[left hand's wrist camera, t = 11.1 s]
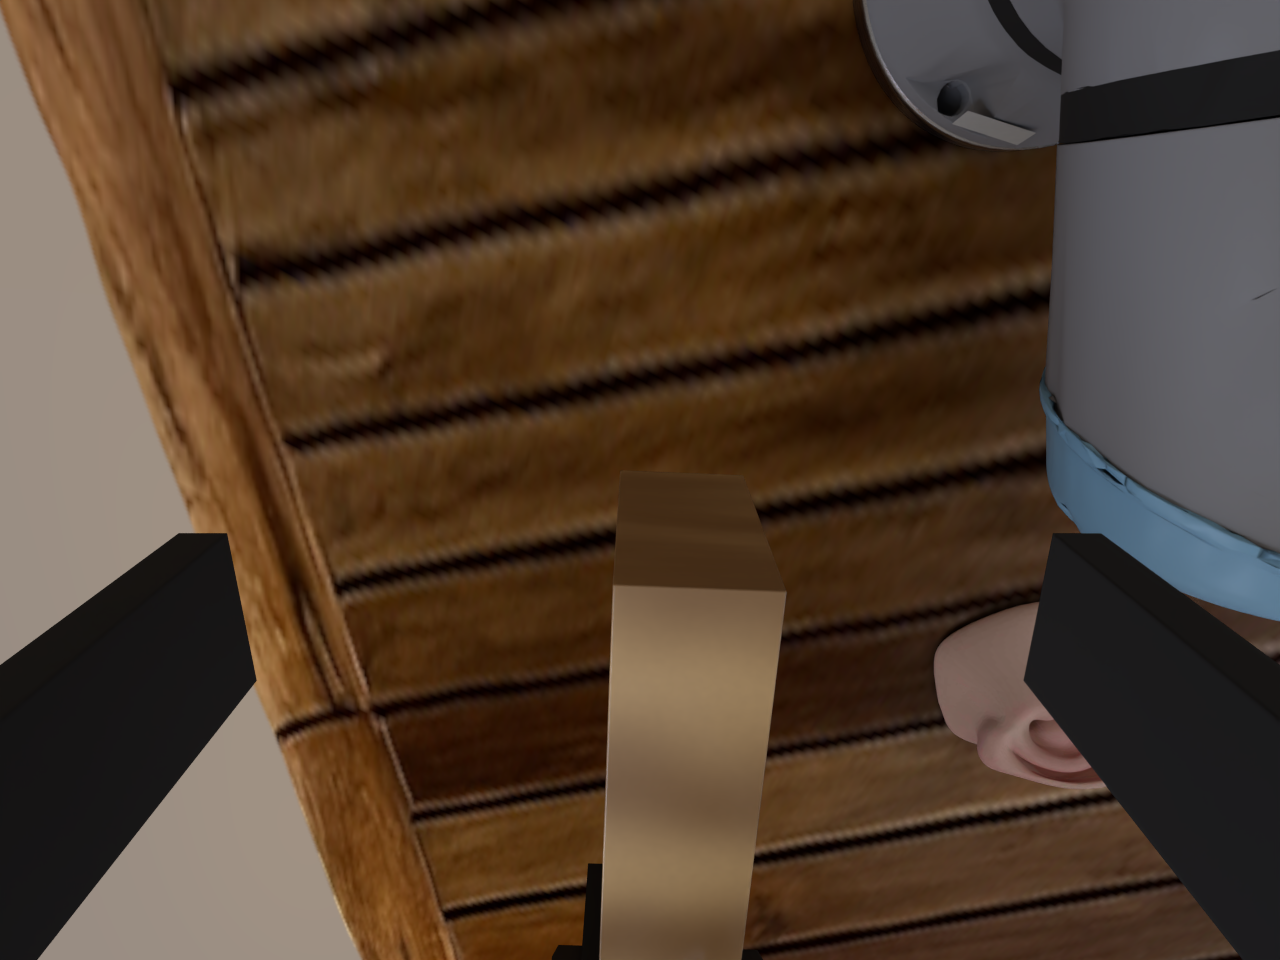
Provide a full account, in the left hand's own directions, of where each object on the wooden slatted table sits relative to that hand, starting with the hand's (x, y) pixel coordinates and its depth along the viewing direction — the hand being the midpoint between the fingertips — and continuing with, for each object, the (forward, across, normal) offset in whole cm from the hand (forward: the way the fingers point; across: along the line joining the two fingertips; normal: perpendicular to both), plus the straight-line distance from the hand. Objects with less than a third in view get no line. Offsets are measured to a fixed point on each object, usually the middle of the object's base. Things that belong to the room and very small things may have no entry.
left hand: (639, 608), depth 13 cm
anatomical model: (+29, +24, -22) cm, 43 cm away
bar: (+15, +1, -14) cm, 21 cm away
